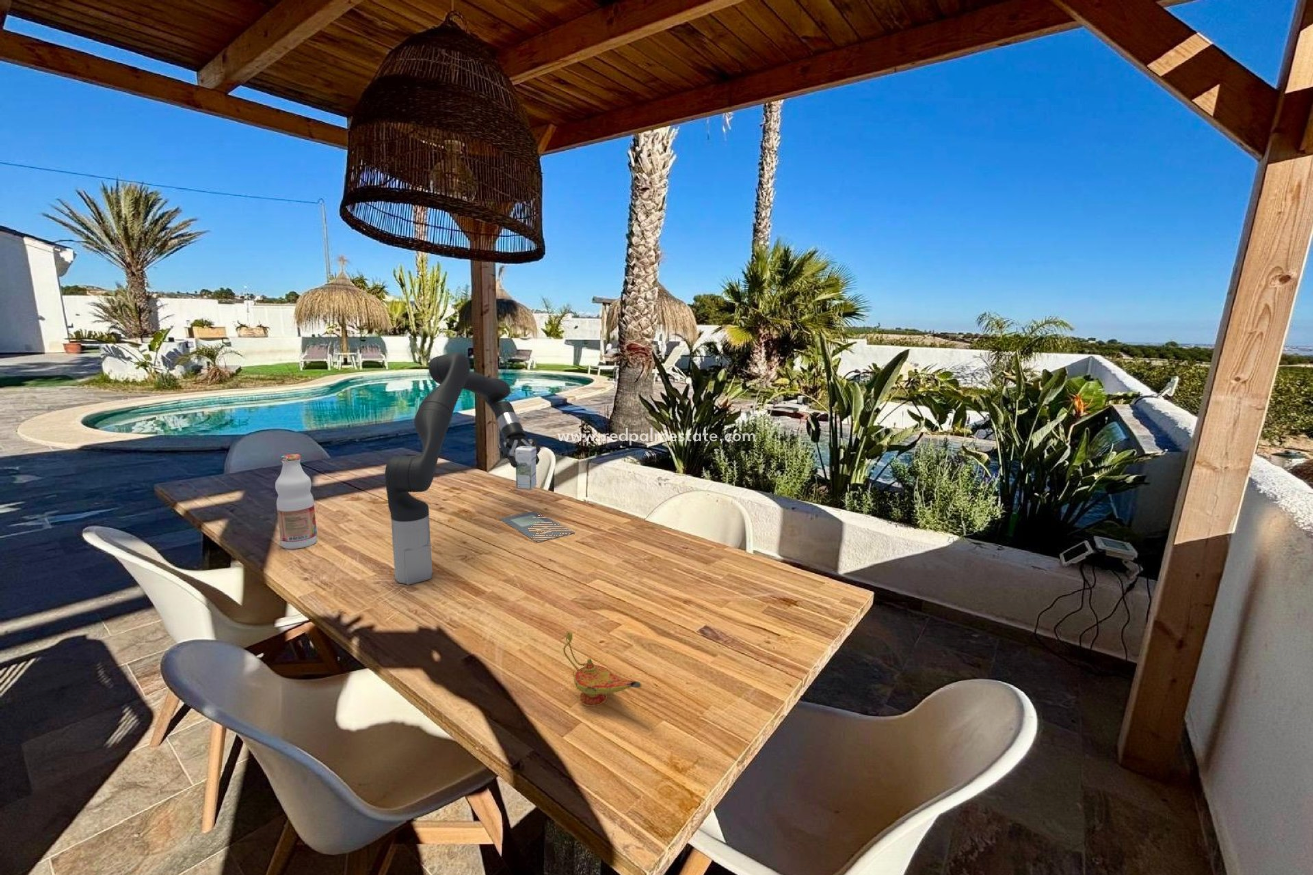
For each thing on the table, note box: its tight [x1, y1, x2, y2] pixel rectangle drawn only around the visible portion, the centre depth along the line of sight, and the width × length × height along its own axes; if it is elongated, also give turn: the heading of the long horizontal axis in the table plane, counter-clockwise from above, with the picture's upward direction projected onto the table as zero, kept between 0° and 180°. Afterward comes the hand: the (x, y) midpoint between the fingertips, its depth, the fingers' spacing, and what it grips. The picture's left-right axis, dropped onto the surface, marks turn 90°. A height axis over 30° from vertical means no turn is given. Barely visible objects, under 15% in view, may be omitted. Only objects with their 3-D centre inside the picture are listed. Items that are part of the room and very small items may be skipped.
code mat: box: [498, 511, 576, 542], centre depth 184 cm, size 28×14×1 cm, turn 41°
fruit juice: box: [274, 453, 318, 550], centre depth 161 cm, size 9×9×28 cm
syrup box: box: [514, 446, 538, 491], centre depth 185 cm, size 6×6×14 cm
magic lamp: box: [562, 631, 642, 707], centre depth 95 cm, size 7×18×11 cm, turn 56°
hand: (526, 464), depth 184 cm, fingers closed on syrup box, 8 cm apart
